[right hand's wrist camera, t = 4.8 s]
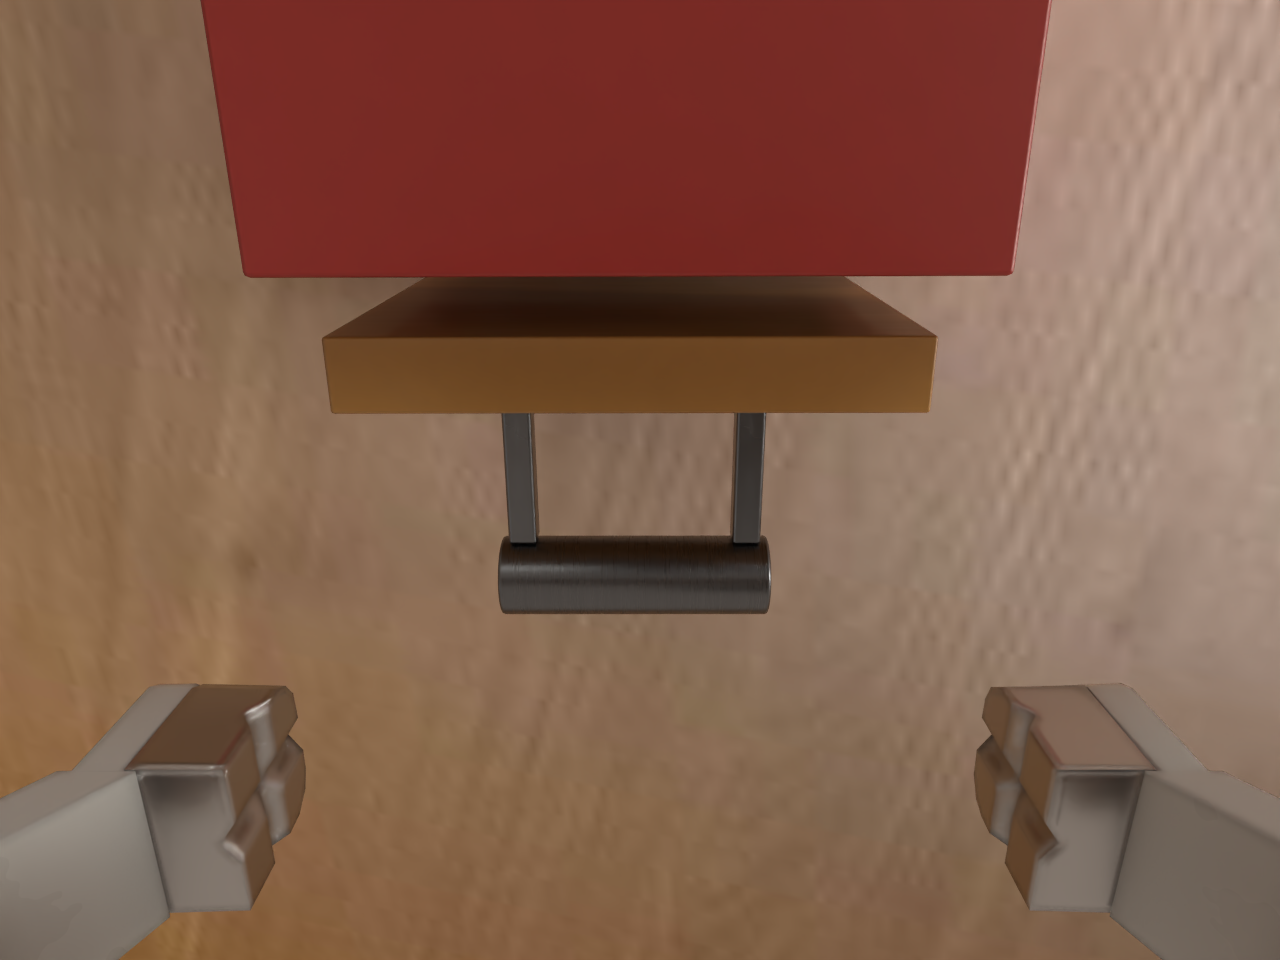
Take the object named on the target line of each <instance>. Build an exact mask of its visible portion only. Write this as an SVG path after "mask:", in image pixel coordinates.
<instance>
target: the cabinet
mask: <svg viewBox="0 0 1280 960" xmlns="http://www.w3.org/2000/svg"><path fill="white" fill-rule="evenodd" d="M1051 3H1052V0H201V6H202V12H203V18H204V25H205V31H206V38H207V44H208V50H209V57H210V63H211V70H212V76H213V82H214V89H215V95H216V101H217V108H218V114H219V121H220V127H221V133H222V140H223V146H224V153H225V159H226V165H227V172H228V178H229V185H230V191H231V197H232V204H233V210H234V217H235V223H236V229H237V236H238V242H239V249H240V255H241V261H242V268H243V273H244V275H245V276H248V277H250V278H339V277H715V276H1007V275H1010V274H1012V273H1013V271H1014V266H1015V259H1016V252H1017V245H1018V237H1019V230H1020V223H1021V216H1022V209H1023V202H1024V195H1025V188H1026V181H1027V174H1028V167H1029V159H1030V152H1031V145H1032V138H1033V131H1034V124H1035V117H1036V110H1037V103H1038V96H1039V88H1040V81H1041V74H1042V67H1043V60H1044V53H1045V46H1046V39H1047V32H1048V25H1049V17H1050V10H1051Z"/></svg>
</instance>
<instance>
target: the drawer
mask: <svg viewBox="0 0 1280 960" xmlns="http://www.w3.org/2000/svg"><path fill="white" fill-rule="evenodd" d="M322 345H323V352H324V360H325V368H326V376H327V383H328V391H329V399H330V406H331V412H332V413H335V414H373V413H502V428H503V445H504V462H505V478H506V495H507V512H508V528H509V536H506V537H504V538H503V540H502V543H501V547H500V553H499V563H498V593H499V602H500V607H501V610H502V612H503V613H505V614H765V613H767V611H768V608H769V604H770V595H771V562H770V551H769V545H768V541H767V539H766V537H765V536H760V531H761V510H762V489H763V468H764V448H765V427H766V413H927V412H929V411H930V406H931V397H932V388H933V380H934V371H935V362H936V354H937V345H938V337H937V336H936V335H935V334H933V333H931V332H930V331H928V330H927V329H925V328H924V327H922V326H920V325H919V324H917V323H916V322H914V321H913V320H911V319H910V318H908V317H906V316H905V315H903V314H902V313H900V312H899V311H897V310H896V309H894V308H892V307H891V306H889V305H888V304H886V303H885V302H883V301H882V300H880V299H878V298H877V297H875V296H874V295H872V294H871V293H869V292H867V291H866V290H864V289H863V288H861V287H860V286H858V285H857V284H855V283H853V282H852V281H850V280H849V279H847V278H846V277H844V276H715V277H426V278H424V279H422V280H421V281H419V282H417V283H415V284H414V285H412V286H410V287H409V288H407V289H405V290H403V291H402V292H400V293H398V294H397V295H395V296H393V297H391V298H390V299H388V300H386V301H385V302H383V303H381V304H379V305H378V306H376V307H374V308H373V309H371V310H369V311H367V312H366V313H364V314H362V315H361V316H359V317H357V318H356V319H354V320H352V321H350V322H349V323H347V324H345V325H344V326H342V327H340V328H338V329H337V330H335V331H333V332H332V333H330V334H328V335H326V336H325V337H323V338H322ZM534 413H734V438H733V466H732V495H731V523H730V533H731V536H538V535H539V513H538V492H537V471H536V449H535V428H534Z"/></svg>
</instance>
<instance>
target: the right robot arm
mask: <svg viewBox="0 0 1280 960" xmlns="http://www.w3.org/2000/svg"><path fill="white" fill-rule="evenodd" d="M297 718H298V715H297V710H296V705H295V700H294V695H293V693H292V692H291V691H290V690H289V689H288V688H287V687H286V686H269V685H221V684H202V685H199V684H159V685H155V686H151V687H149V688H148V689H147V690H146V691H145V692H144V693H143V694H142V695H141V696H140V697H139V698H138V699H137V701H136V702H135V703H134V704H133V705H132V706H131V707H130V708H129V709H128V710H127V711H126V712H125V714H124V715H123V716H122V717H121V718H120V719H119V720H118V721H117V722H116V723H115V724H114V725H113V727H112V728H111V729H110V730H109V731H108V732H107V733H106V734H105V735H104V736H103V737H102V738H101V740H100V741H99V742H98V743H97V744H96V745H95V746H94V747H93V748H92V749H91V750H90V751H89V752H88V754H87V755H86V756H85V757H84V758H83V759H82V760H81V761H80V762H79V763H78V764H77V765H76V767H75V768H74V769H73V770H72V771H56V772H54V773H52V774H50V775H48V776H46V777H44V778H42V779H40V780H38V781H36V782H33V783H31V784H29V785H27V786H25V787H23V788H21V789H19V790H17V791H15V792H13V793H11V794H9V795H6V796H4V797H2V798H0V960H118V959H119V958H121V957H122V956H123V955H124V954H125V953H127V952H128V951H129V950H130V949H131V948H133V947H134V946H135V945H136V944H138V943H139V942H140V941H141V940H142V939H144V938H145V937H146V936H147V935H149V934H150V933H151V932H152V931H153V930H155V929H156V928H157V927H158V926H159V925H161V924H162V923H163V922H164V921H166V920H167V919H168V918H169V917H170V914H169V913H174V912H209V911H243V910H251V908H252V906H253V905H254V903H255V901H256V899H257V897H258V895H259V893H260V891H261V889H262V887H263V885H264V883H265V881H266V880H267V878H268V876H269V874H270V872H271V870H272V868H273V866H274V864H275V859H274V853H273V847H272V845H274V844H275V843H277V842H278V841H280V840H281V839H282V838H284V837H285V836H287V835H288V834H290V833H291V831H292V829H293V827H294V825H295V822H296V820H297V818H298V816H299V814H300V810H301V806H302V801H303V797H304V792H305V781H306V766H305V760H304V753H303V749H302V748H301V747H300V746H299V745H298V744H297V743H296V742H295V741H294V740H293V739H292V738H291V737H290V736H289V735H288V734H289V732H290V730H291V729H292V727H293V725H294V724H295V722H296V720H297ZM982 718H983V720H984V722H985V724H986V725H987V727H988V729H989V730H990V732H991V734H992V735H991V736H990V737H989V738H988V739H987V740H986V741H985V742H984V743H983V744H982V745H981V746H980V747H979V748H978V749H977V753H976V761H975V770H974V781H975V791H976V800H977V803H978V806H979V810H980V813H981V816H982V818H983V821H984V823H985V825H986V827H987V829H988V831H989V833H990V834H992V835H993V836H995V837H996V838H998V839H999V840H1000V841H1002V842H1003V843H1005V844H1006V845H1008V847H1007V853H1006V859H1005V864H1006V866H1007V868H1008V870H1009V872H1010V874H1011V876H1012V878H1013V879H1014V881H1015V883H1016V885H1017V887H1018V889H1019V891H1020V893H1021V895H1022V897H1023V899H1024V901H1025V902H1026V904H1027V906H1028V908H1029V910H1034V911H1070V912H1105V913H1110V917H1111V918H1112V919H1114V920H1115V921H1116V922H1117V923H1118V924H1120V925H1121V926H1122V927H1123V928H1125V929H1126V930H1127V931H1128V932H1129V933H1131V934H1132V935H1133V936H1134V937H1135V938H1137V939H1138V940H1139V941H1140V942H1142V943H1143V944H1144V945H1145V946H1146V947H1148V948H1149V949H1150V950H1151V951H1152V952H1154V953H1155V954H1156V955H1157V956H1159V957H1160V958H1161V959H1162V960H1280V798H1278V797H1275V796H1273V795H1271V794H1269V793H1267V792H1265V791H1263V790H1261V789H1259V788H1257V787H1255V786H1253V785H1251V784H1249V783H1246V782H1244V781H1242V780H1240V779H1238V778H1236V777H1234V776H1232V775H1230V774H1228V773H1226V772H1224V771H1208V770H1207V769H1206V768H1205V767H1204V765H1203V764H1202V763H1201V762H1200V761H1199V760H1198V759H1197V758H1196V757H1195V756H1194V755H1193V754H1192V752H1191V751H1190V750H1189V749H1188V748H1187V747H1186V746H1185V745H1184V744H1183V743H1182V742H1181V741H1180V739H1179V738H1178V737H1177V736H1176V735H1175V734H1174V733H1173V732H1172V731H1171V730H1170V729H1169V728H1168V726H1167V725H1166V724H1165V723H1164V722H1163V721H1162V720H1161V719H1160V718H1159V717H1158V716H1157V715H1156V713H1155V712H1154V711H1153V710H1152V709H1151V708H1150V707H1149V706H1148V705H1147V704H1146V703H1145V702H1144V700H1143V699H1142V698H1141V697H1140V696H1139V695H1138V694H1137V693H1136V692H1135V691H1134V690H1133V689H1132V688H1131V687H1128V686H1126V685H1124V684H1121V683H1115V684H1086V685H1072V686H1024V687H991V688H990V690H989V692H988V694H987V696H986V699H985V703H984V709H983V715H982Z"/></svg>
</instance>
